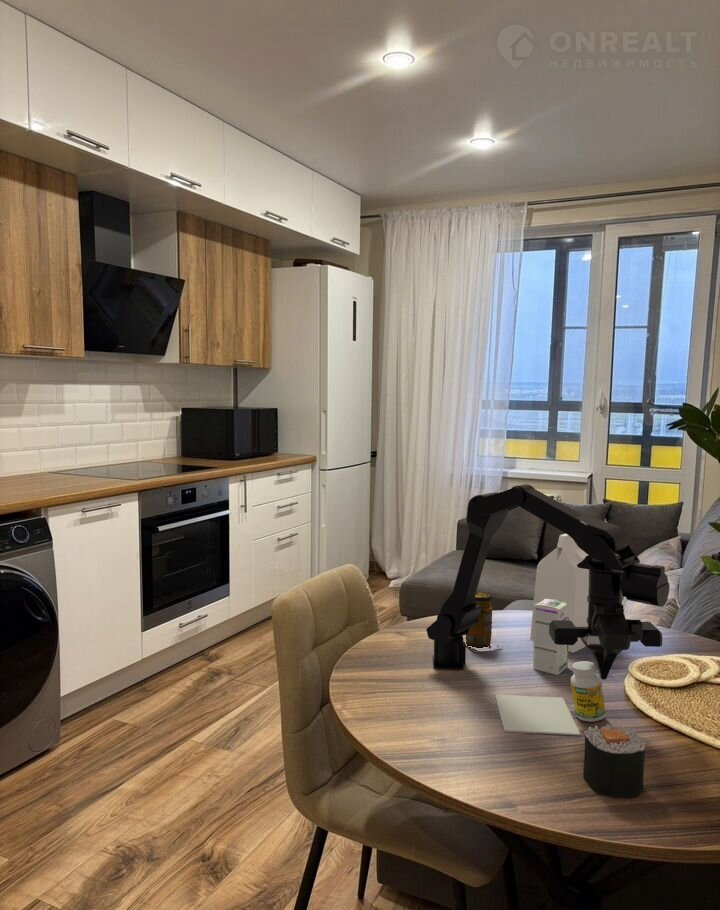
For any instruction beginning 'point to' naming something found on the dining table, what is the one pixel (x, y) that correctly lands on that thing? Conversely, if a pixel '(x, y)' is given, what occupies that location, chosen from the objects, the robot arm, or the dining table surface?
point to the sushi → (614, 761)
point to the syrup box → (549, 637)
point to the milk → (564, 583)
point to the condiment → (481, 624)
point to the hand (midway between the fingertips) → (603, 678)
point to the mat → (535, 715)
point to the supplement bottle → (587, 692)
